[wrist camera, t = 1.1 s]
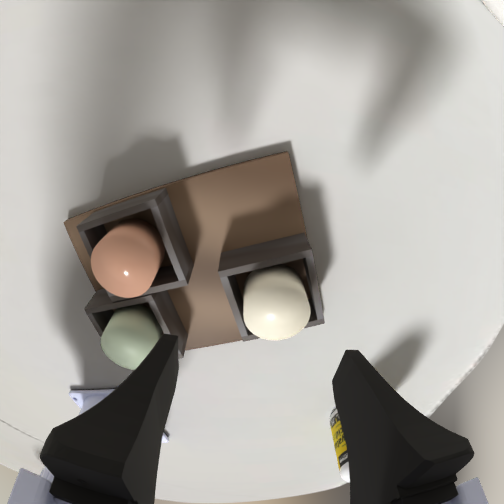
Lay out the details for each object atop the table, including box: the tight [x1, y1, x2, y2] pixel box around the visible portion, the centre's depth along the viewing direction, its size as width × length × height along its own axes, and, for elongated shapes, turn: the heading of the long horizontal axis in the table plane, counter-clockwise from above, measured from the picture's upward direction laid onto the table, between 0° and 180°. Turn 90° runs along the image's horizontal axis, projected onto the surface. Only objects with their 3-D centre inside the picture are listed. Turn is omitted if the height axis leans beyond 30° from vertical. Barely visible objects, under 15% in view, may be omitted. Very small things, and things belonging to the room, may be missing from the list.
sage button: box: [100, 304, 163, 370], centre depth 19 cm, size 4×4×3 cm
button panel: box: [64, 151, 325, 359], centre depth 19 cm, size 12×15×3 cm
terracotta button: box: [91, 218, 165, 298], centre depth 16 cm, size 4×4×3 cm
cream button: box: [243, 264, 311, 340], centre depth 18 cm, size 4×4×3 cm
